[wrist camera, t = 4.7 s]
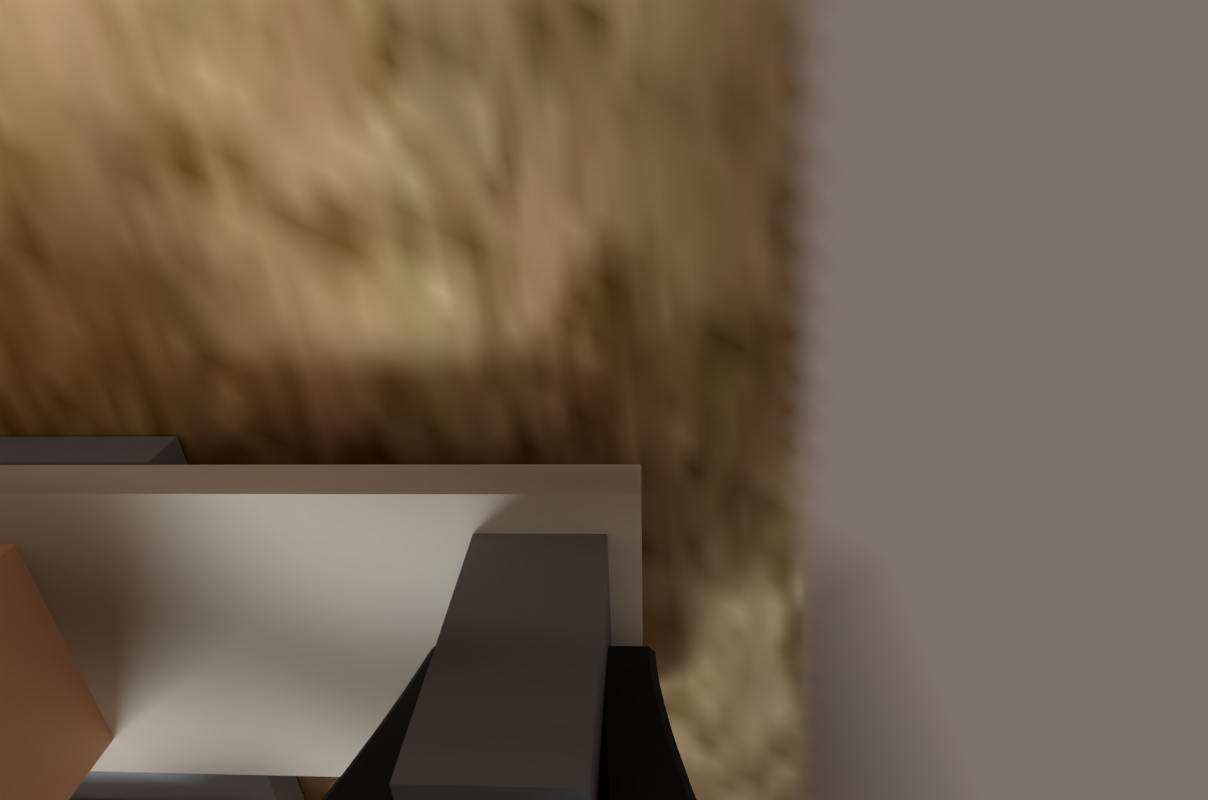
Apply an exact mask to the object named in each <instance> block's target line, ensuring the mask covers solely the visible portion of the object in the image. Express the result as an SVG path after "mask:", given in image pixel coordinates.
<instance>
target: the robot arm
mask: <svg viewBox="0 0 1208 800" xmlns="http://www.w3.org/2000/svg"><path fill="white" fill-rule="evenodd" d="M434 649H435V646H434V647H433V648H432V649H431V650H430V652H429V653H428V655H427V656H426V658H425V659H424V661H423V663H422V664H421V666H420V667H419V669H418V670H417V672H416V673H415V675H414V676H413V678H412V679H411V681H410V682H409V684H408V685H407V687H406V688H405V689H404V691H403V692H402V694H401V695H400V697H399V698H398V700H397V701H396V702H395V704H394V705H393V707H392V708H391V710H390V711H389V712H388V714H387V715H386V717H385V718H384V719H383V721H382V722H381V724H380V725H379V726H378V728H377V729H376V730H375V732H374V733H373V734H372V736H371V737H370V738H369V740H368V741H367V742H366V744H365V745H364V746H363V748H362V749H361V750H360V752H359V753H358V754H357V756H356V757H355V758H354V760H353V761H352V762H351V764H350V765H349V766H348V768H347V769H346V770H345V772H344V773H343V774H342V775H341V777H340V778H339V779H338V780H337V782H336V783H335V784H334V785H333V787H332V788H331V789H330V790H329V791H328V793H327V794H326V795H325V796H324V797H323V799H322V800H393V796H392V792H391V788H390V781H391V778H392V775H393V772H394V769H395V766H396V763H397V760H398V757H399V754H400V751H401V748H402V745H403V742H404V739H405V736H406V733H407V730H408V727H409V724H410V721H411V718H412V715H413V712H414V709H415V706H416V703H417V700H418V697H419V694H420V691H421V688H422V685H423V682H424V679H425V676H426V673H427V670H428V667H429V664H430V661H431V658H432V655H433V652H434ZM604 697H605V719H606V740H607V761H608V782H609V800H696V798H695V795H694V792H693V790H692V787H691V785H690V782H689V779H688V776H687V773H686V771H685V768H684V765H683V762H682V759H681V756H680V754H679V751H678V748H677V745H676V742H675V739H674V736H673V733H672V729H671V726H670V722H669V719H668V715H667V712H666V708H665V705H664V701H663V697H662V692H661V688H660V683H659V678H658V672H657V666H656V655H655V652H654V651H653V650H652V649H651V648H649V647H648V646H608V654H607V664H606V676H605V689H604Z"/></svg>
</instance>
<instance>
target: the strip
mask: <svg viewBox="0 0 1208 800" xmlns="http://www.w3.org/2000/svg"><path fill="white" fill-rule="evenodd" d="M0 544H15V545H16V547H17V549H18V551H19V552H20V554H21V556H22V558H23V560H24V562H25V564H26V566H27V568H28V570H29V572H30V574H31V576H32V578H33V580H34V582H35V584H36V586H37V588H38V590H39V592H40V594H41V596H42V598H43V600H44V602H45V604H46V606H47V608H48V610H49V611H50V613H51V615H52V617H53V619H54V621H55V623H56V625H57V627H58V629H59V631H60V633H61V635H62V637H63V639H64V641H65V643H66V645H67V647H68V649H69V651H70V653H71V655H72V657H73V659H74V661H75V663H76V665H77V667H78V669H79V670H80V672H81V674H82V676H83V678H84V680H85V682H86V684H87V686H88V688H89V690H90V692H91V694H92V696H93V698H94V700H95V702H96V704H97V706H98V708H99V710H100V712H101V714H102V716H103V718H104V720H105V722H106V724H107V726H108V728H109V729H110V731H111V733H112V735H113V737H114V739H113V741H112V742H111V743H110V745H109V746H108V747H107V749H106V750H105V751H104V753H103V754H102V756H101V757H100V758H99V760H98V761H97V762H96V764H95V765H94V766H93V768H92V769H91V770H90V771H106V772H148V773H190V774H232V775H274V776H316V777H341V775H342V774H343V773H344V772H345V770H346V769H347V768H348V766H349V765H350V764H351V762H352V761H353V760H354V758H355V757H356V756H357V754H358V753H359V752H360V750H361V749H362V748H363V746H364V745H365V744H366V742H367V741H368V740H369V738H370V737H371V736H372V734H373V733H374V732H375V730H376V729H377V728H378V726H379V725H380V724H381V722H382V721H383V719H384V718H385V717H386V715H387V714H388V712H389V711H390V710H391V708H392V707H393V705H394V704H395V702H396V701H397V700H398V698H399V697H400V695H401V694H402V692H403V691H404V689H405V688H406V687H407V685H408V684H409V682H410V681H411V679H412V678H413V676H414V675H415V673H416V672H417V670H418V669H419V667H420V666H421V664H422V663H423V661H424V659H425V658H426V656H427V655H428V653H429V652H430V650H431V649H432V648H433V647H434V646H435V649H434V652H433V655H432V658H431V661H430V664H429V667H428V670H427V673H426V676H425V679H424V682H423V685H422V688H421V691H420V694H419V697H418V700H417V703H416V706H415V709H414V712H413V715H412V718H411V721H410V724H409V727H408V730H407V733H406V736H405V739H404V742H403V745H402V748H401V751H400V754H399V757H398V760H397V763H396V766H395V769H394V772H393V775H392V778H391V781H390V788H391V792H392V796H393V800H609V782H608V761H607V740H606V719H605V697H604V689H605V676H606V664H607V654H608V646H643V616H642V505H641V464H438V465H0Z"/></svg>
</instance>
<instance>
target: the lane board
mask: <svg viewBox="0 0 1208 800" xmlns="http://www.w3.org/2000/svg"><path fill="white" fill-rule="evenodd" d="M0 465H187V462H186V459H185V456H184V453H183V451H182V448H181V445H180V442H179V439H178V436H73V437H0ZM69 800H304V797H303V794H302V791H301V789H300V786H299V783H298V780H297V777H296V776H274V775H232V774H190V773H148V772H106V771H90V772H89V773H88V774H87V776H86V777H85V778H84V780H83V781H82V783H81V784H80V785H79V787H78V788H77V789H76V791H75V792H74V793H73V795H72V796H71V797H70V799H69Z"/></svg>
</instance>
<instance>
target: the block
mask: <svg viewBox="0 0 1208 800" xmlns="http://www.w3.org/2000/svg"><path fill="white" fill-rule="evenodd" d="M113 739H114V737H113V735H112V733H111V731H110V729H109V728H108V726H107V724H106V722H105V720H104V718H103V716H102V714H101V712H100V710H99V708H98V706H97V704H96V702H95V700H94V698H93V696H92V694H91V692H90V690H89V688H88V686H87V684H86V682H85V680H84V678H83V676H82V674H81V672H80V670H79V669H78V667H77V665H76V663H75V661H74V659H73V657H72V655H71V653H70V651H69V649H68V647H67V645H66V643H65V641H64V639H63V637H62V635H61V633H60V631H59V629H58V627H57V625H56V623H55V621H54V619H53V617H52V615H51V613H50V611H49V610H48V608H47V606H46V604H45V602H44V600H43V598H42V596H41V594H40V592H39V590H38V588H37V586H36V584H35V582H34V580H33V578H32V576H31V574H30V572H29V570H28V568H27V566H26V564H25V562H24V560H23V558H22V556H21V554H20V552H19V551H18V549H17V547H16V545H15V544H0V800H69V799H70V797H71V796H72V795H73V793H74V792H75V791H76V789H77V788H78V787H79V785H80V784H81V783H82V781H83V780H84V778H85V777H86V776H87V774H88V773H89V772H90V770H91V769H92V768H93V766H94V765H95V764H96V762H97V761H98V760H99V758H100V757H101V756H102V754H103V753H104V751H105V750H106V749H107V747H108V746H109V745H110V743H111V742H112V741H113Z"/></svg>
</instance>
